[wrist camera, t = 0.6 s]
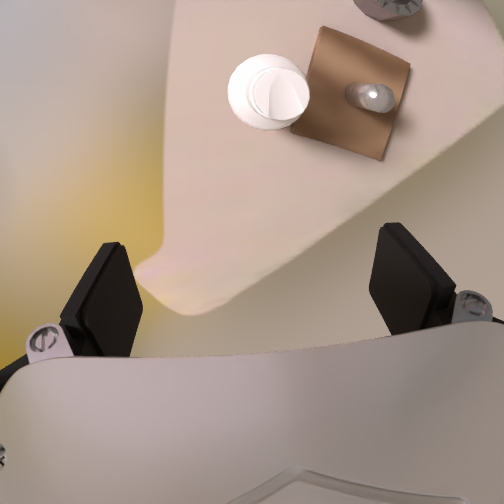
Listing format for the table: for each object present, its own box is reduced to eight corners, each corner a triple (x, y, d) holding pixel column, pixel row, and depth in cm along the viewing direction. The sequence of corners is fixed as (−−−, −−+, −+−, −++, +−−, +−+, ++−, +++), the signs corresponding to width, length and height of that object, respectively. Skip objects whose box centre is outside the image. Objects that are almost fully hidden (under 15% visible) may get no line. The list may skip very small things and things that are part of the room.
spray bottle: (281, 58, 30) (325, 36, 15) (292, 112, 34) (343, 138, 18) (223, 69, 31) (214, 53, 15) (236, 123, 34) (239, 157, 19)
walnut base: (320, 27, 28) (323, 25, 27) (404, 63, 30) (410, 63, 29) (290, 131, 35) (293, 133, 34) (375, 157, 37) (380, 160, 36)
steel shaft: (347, 78, 30) (372, 79, 24) (369, 87, 31) (397, 90, 25) (341, 101, 32) (364, 106, 26) (363, 109, 32) (390, 117, 26)
